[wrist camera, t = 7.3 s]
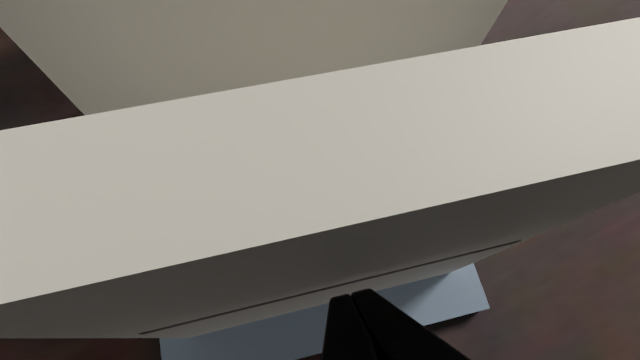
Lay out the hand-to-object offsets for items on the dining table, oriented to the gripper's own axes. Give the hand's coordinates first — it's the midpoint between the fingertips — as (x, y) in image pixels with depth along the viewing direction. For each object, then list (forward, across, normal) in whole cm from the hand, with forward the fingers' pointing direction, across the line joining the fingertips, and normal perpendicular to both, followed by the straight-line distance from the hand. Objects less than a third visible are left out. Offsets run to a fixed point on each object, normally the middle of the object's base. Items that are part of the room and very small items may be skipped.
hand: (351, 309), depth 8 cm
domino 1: (+6, 0, +4) cm, 8 cm away
